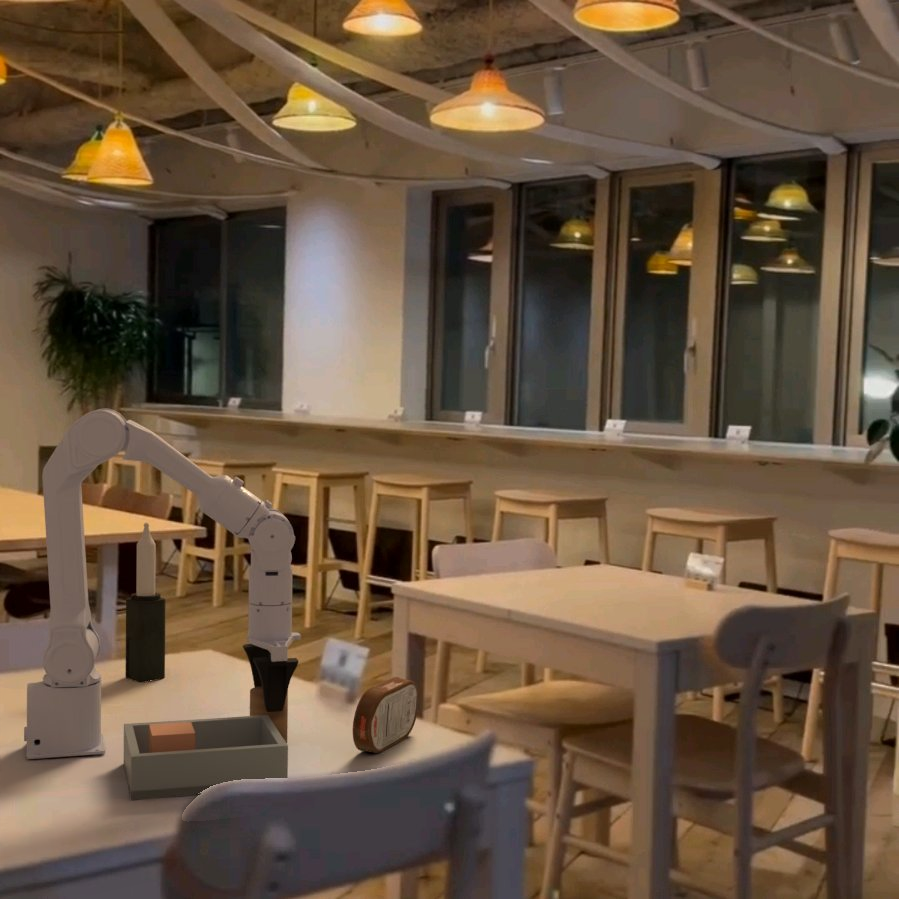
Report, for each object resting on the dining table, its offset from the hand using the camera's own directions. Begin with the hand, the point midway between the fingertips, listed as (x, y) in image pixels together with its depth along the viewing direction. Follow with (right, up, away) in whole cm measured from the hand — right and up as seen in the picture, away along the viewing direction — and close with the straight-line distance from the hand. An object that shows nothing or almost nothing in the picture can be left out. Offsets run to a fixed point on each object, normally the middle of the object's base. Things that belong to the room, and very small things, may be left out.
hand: (269, 703), depth 166 cm
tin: (+16, -6, 0) cm, 17 cm away
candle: (-25, -3, +34) cm, 42 cm away
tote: (-6, -6, -14) cm, 16 cm away
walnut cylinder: (0, -5, 0) cm, 5 cm away
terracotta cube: (-10, -5, -15) cm, 19 cm away
